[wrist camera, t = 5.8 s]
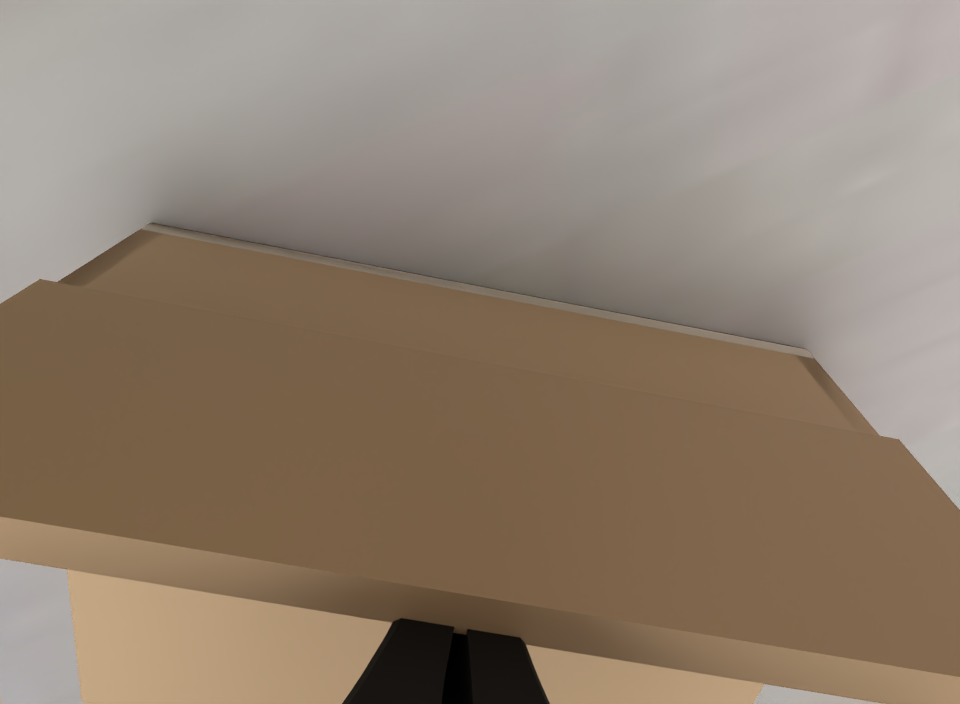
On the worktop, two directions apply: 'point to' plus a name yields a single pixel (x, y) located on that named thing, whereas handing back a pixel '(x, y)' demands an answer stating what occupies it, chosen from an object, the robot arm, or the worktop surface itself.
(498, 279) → the worktop surface
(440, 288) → the carton
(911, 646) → the flap
